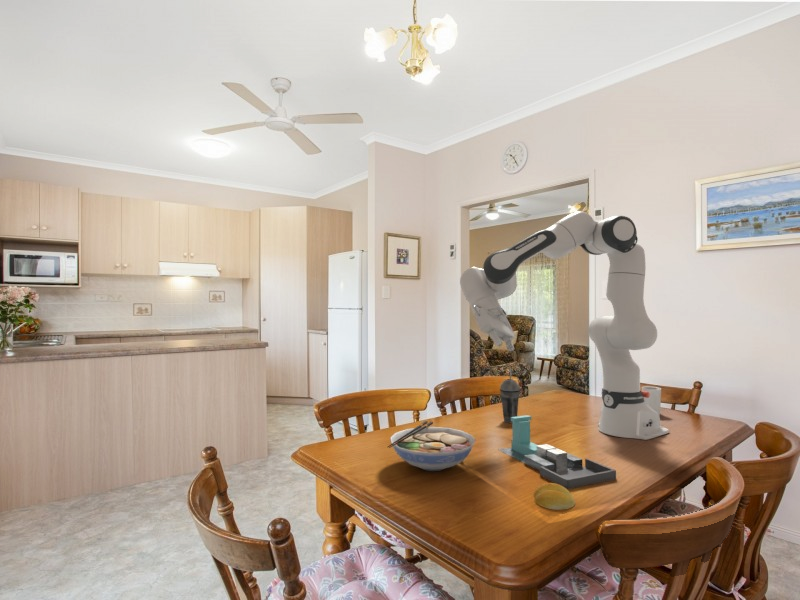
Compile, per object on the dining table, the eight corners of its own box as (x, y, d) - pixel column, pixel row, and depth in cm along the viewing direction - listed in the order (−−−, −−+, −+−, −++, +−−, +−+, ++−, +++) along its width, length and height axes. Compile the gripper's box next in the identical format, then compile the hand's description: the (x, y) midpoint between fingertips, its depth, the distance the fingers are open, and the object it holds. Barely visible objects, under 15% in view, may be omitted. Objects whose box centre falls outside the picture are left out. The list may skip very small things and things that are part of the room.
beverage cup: (497, 422, 158) (496, 367, 158) (504, 418, 164) (503, 365, 164) (516, 425, 154) (515, 369, 154) (523, 420, 160) (522, 366, 160)
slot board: (531, 447, 129) (531, 437, 129) (582, 470, 111) (582, 459, 111) (497, 452, 125) (497, 442, 125) (545, 478, 106) (544, 465, 106)
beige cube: (547, 458, 117) (547, 444, 117) (556, 463, 114) (556, 447, 114) (536, 460, 116) (536, 445, 116) (545, 465, 112) (545, 449, 112)
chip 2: (557, 463, 113) (557, 448, 113) (567, 468, 110) (567, 452, 110) (546, 465, 112) (546, 450, 112) (556, 470, 109) (556, 454, 109)
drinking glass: (665, 415, 166) (665, 389, 166) (648, 415, 166) (648, 389, 166) (655, 411, 173) (654, 386, 173) (638, 411, 172) (638, 386, 173)
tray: (587, 470, 111) (586, 458, 111) (616, 483, 103) (615, 470, 103) (540, 478, 106) (539, 466, 106) (566, 493, 97) (566, 480, 97)
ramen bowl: (455, 492, 98) (454, 456, 98) (371, 474, 110) (370, 442, 110) (488, 458, 120) (488, 429, 120) (415, 446, 131) (415, 419, 131)
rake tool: (525, 446, 127) (525, 414, 127) (548, 457, 118) (548, 422, 118) (508, 449, 125) (508, 416, 125) (531, 460, 116) (530, 424, 116)
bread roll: (535, 513, 89) (535, 493, 89) (533, 495, 97) (532, 477, 97) (578, 518, 87) (578, 498, 87) (572, 498, 95) (571, 480, 95)
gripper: (481, 297, 131) (500, 336, 124) (507, 313, 146) (526, 348, 139) (464, 308, 133) (482, 347, 126) (492, 322, 149) (509, 357, 142)
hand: (505, 347), depth 133 cm, fingers open, 8 cm apart
